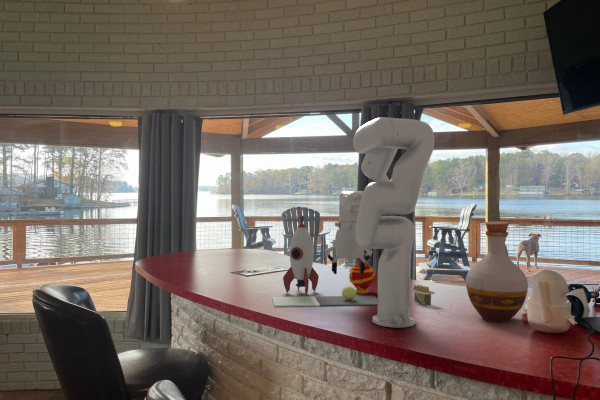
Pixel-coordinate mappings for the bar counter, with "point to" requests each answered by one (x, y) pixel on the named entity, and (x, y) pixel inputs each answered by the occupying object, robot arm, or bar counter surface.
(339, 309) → the bar counter surface
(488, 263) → the jug
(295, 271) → the toy
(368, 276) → the potion bottle
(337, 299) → the strip
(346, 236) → the robot arm
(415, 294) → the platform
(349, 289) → the ball
